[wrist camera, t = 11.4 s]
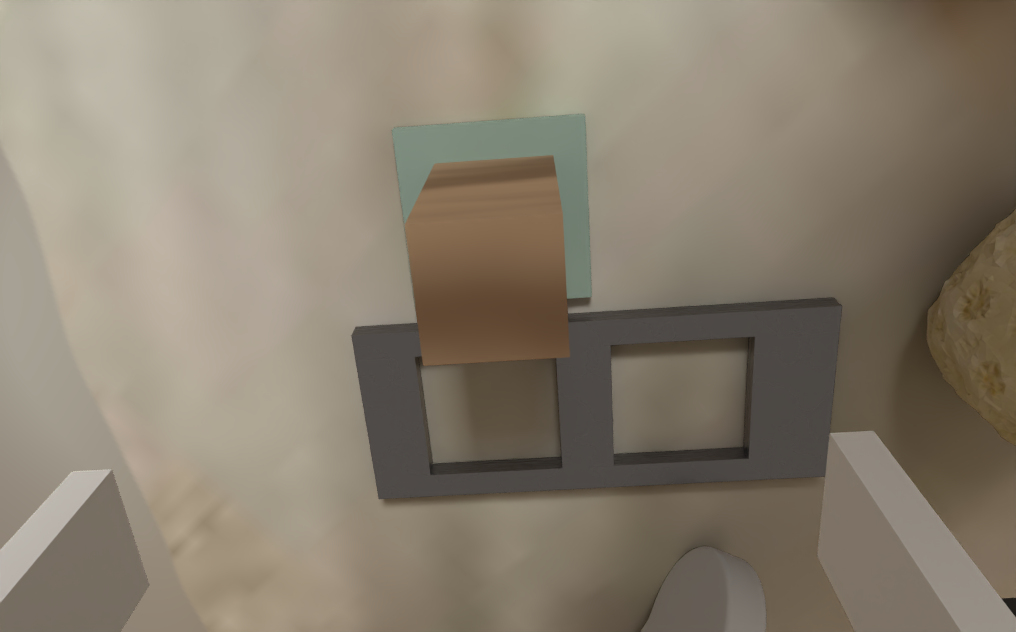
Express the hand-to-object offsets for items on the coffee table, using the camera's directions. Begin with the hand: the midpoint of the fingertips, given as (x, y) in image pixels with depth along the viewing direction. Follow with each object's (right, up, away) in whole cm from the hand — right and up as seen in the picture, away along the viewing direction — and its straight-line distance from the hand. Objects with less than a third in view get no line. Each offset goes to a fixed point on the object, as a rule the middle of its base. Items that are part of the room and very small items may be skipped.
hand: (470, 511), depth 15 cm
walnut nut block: (0, +8, +19) cm, 21 cm away
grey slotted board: (+5, 0, +23) cm, 24 cm away
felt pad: (0, +8, +20) cm, 22 cm away
